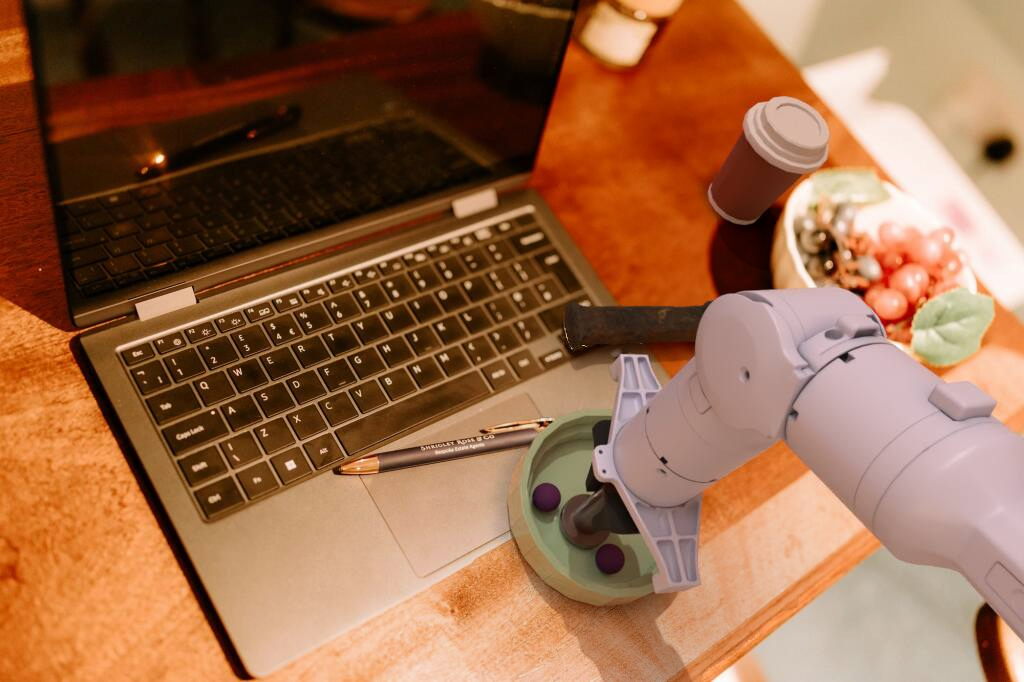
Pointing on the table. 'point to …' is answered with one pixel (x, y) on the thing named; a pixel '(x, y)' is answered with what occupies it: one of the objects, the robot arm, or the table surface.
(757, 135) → the coffee cup
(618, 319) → the hand tool
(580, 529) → the masher
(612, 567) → the berry
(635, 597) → the bowl
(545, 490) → the berry
